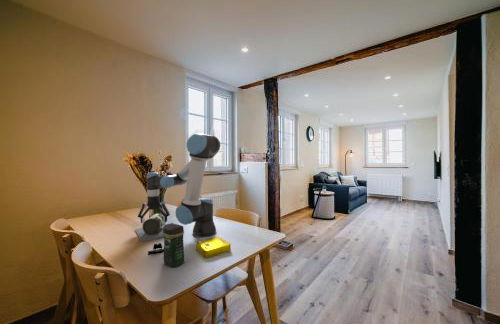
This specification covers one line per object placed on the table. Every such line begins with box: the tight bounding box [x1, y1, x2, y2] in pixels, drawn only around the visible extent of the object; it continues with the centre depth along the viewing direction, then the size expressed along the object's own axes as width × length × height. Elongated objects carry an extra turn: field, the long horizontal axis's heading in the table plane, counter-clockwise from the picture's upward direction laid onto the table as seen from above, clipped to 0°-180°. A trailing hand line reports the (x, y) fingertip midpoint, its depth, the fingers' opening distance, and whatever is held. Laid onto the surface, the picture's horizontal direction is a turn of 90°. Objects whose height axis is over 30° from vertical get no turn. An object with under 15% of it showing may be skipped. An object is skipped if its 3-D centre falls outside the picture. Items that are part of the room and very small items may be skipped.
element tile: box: [195, 236, 231, 259], centre depth 119 cm, size 15×15×5 cm
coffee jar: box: [163, 222, 185, 268], centre depth 105 cm, size 10×8×19 cm
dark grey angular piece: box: [147, 242, 164, 256], centre depth 118 cm, size 12×7×5 cm, turn 113°
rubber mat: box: [134, 225, 164, 243], centre depth 148 cm, size 26×20×1 cm
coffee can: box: [143, 213, 164, 235], centre depth 149 cm, size 10×10×14 cm
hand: (154, 227), depth 148 cm, fingers open, 13 cm apart
